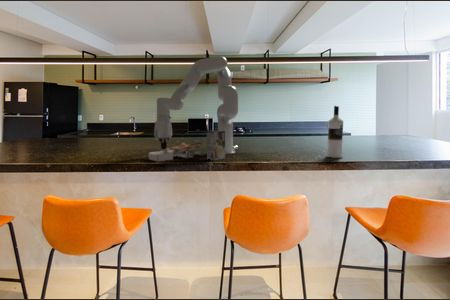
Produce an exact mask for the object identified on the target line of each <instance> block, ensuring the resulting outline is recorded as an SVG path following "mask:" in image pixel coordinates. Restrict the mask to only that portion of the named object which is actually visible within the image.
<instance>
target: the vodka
mask: <svg viewBox="0 0 450 300" xmlns="http://www.w3.org/2000/svg"><path fill="white" fill-rule="evenodd" d="M339 108H340V106H339V105H334V106H333V117H332V118H331V119H329V120H328V123H327V124H328V125H327V126H328V127H327V129H328V132H327V140H326V141H327V148H326V152H325V155H326V157H327V158H329V157H331V158H330V159H341V158H343V156H344V155H343V130H344V120H343V119H341V118H340V116H339V114H340V110H339Z"/></svg>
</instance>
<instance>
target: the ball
mask: <svg viewBox="0 0 450 300" xmlns="http://www.w3.org/2000/svg"><path fill="white" fill-rule="evenodd" d="M186 145H187V144H186V143H185V142H181V143H179V146H180V148H183V147H186Z"/></svg>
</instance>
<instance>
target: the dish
mask: <svg viewBox="0 0 450 300" xmlns="http://www.w3.org/2000/svg"><path fill="white" fill-rule="evenodd" d="M164 152H165V151H161V150H160V151H150V152H148V160H150V161H152V162H156V163H157V162H158V163H159V162H165V161H166V160H167V161H174V156H173V155H174V153H169V152H168V153H165V154H164Z"/></svg>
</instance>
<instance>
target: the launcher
mask: <svg viewBox="0 0 450 300" xmlns="http://www.w3.org/2000/svg"><path fill="white" fill-rule="evenodd" d="M185 145H186V147H183V148H180V145H179V146H173V147H166V149H161V148H160V151H164V152H168V153H173V154H176V153H178V152H181V153H182V152H183V151H193V150H197V149H203V141H200V140H193V143H190V144H185Z"/></svg>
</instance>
